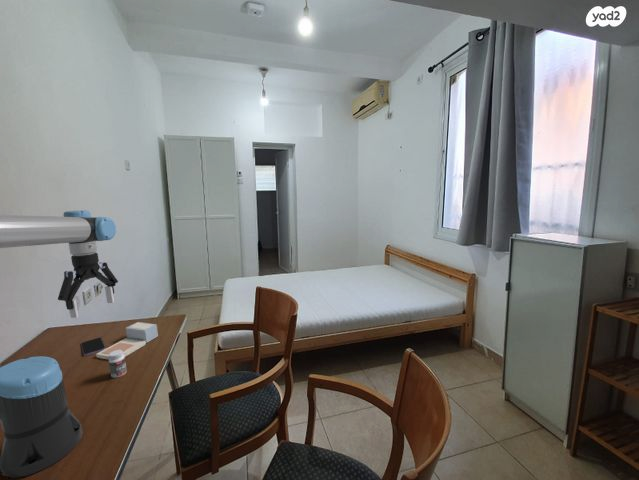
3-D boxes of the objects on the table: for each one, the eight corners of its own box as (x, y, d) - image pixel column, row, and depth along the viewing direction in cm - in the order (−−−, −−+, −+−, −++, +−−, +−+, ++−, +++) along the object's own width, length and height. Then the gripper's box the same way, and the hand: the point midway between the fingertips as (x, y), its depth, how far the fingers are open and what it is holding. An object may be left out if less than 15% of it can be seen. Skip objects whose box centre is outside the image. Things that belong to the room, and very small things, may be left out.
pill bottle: (119, 378, 102) (115, 357, 100) (107, 377, 103) (104, 355, 101) (130, 370, 106) (126, 349, 105) (119, 369, 107) (115, 348, 106)
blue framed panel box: (146, 342, 125) (144, 330, 124) (127, 339, 128) (125, 327, 127) (158, 336, 131) (156, 324, 130) (139, 333, 134) (137, 321, 133)
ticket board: (117, 361, 113) (116, 357, 112) (96, 357, 116) (96, 353, 115) (145, 344, 125) (145, 340, 124) (126, 341, 128) (125, 337, 128)
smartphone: (101, 336, 132) (105, 348, 121) (101, 339, 132) (106, 350, 122) (80, 342, 127) (83, 355, 116) (81, 345, 128) (84, 357, 117)
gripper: (53, 262, 91) (65, 325, 95) (123, 247, 115) (131, 297, 119) (35, 261, 93) (48, 323, 96) (108, 246, 117) (116, 297, 120)
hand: (93, 309), depth 108 cm, fingers open, 13 cm apart
